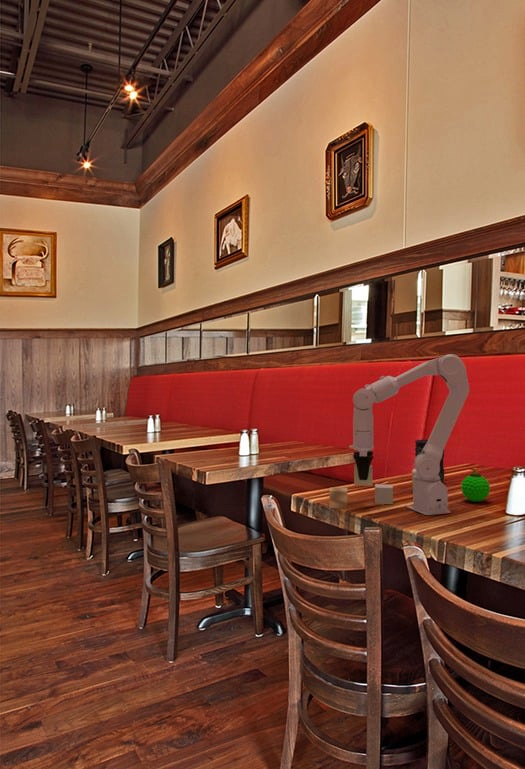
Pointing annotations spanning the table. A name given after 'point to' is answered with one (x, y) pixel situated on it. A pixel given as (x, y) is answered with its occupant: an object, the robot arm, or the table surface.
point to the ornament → (475, 487)
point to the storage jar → (419, 448)
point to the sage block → (362, 482)
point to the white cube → (383, 494)
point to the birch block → (338, 498)
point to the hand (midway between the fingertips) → (363, 478)
